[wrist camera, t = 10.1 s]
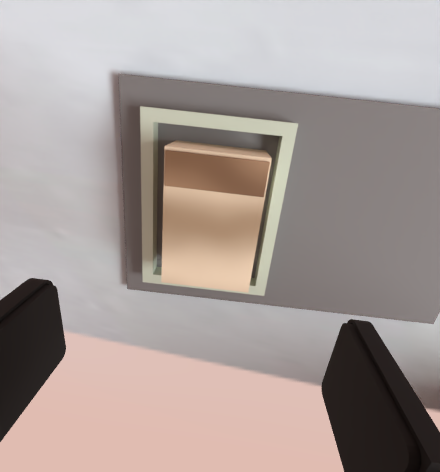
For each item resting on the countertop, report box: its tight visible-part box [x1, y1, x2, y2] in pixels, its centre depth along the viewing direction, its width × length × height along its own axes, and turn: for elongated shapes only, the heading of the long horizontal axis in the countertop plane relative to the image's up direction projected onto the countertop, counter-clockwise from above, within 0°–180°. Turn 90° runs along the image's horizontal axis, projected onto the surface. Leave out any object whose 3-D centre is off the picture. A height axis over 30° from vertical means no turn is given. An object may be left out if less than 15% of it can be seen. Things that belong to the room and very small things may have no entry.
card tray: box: [140, 106, 298, 296], centre depth 20 cm, size 13×10×1 cm
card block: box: [161, 140, 272, 293], centre depth 19 cm, size 9×6×4 cm, turn 174°
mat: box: [119, 74, 440, 324], centre depth 21 cm, size 26×16×1 cm, turn 84°
